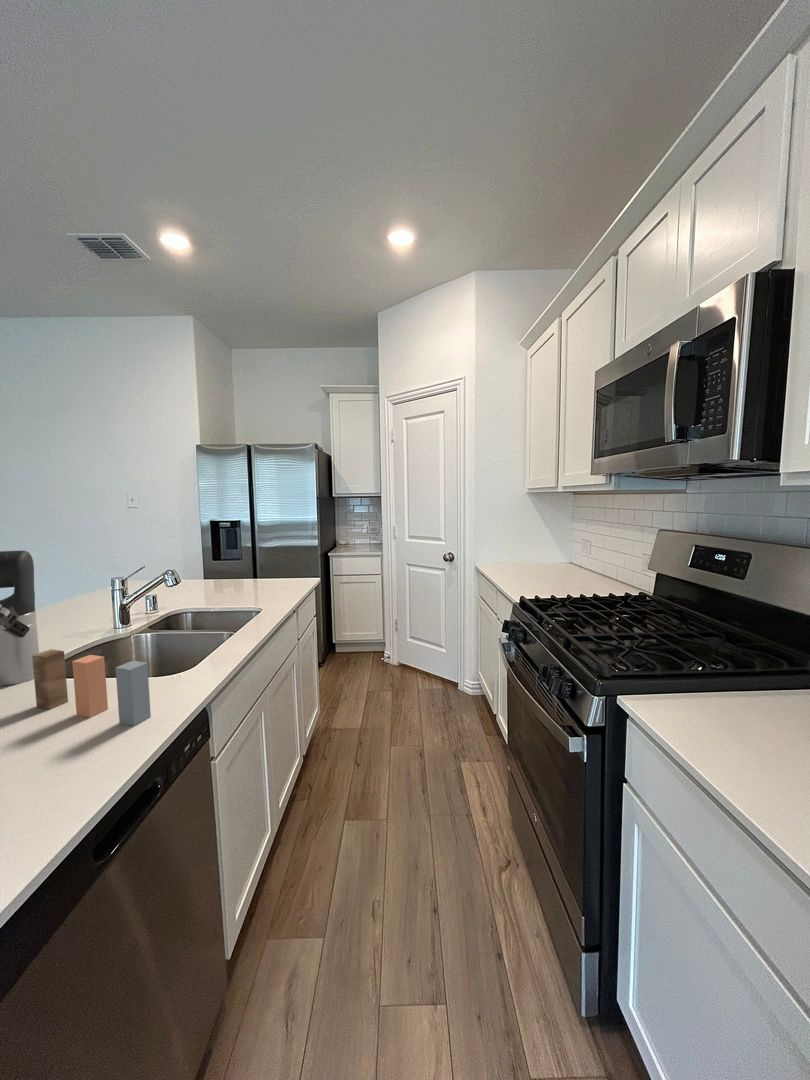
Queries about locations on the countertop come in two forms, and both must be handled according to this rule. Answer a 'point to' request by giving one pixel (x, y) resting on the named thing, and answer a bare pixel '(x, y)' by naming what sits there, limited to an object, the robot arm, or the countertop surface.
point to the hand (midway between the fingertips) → (23, 632)
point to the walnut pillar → (50, 679)
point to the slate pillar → (133, 693)
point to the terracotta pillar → (90, 685)
